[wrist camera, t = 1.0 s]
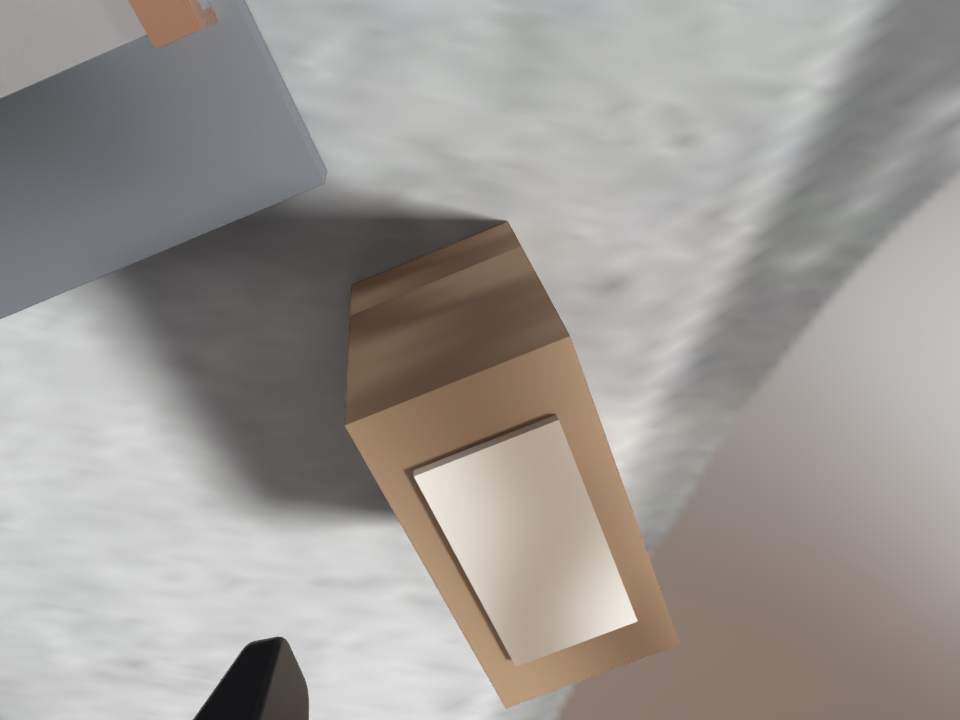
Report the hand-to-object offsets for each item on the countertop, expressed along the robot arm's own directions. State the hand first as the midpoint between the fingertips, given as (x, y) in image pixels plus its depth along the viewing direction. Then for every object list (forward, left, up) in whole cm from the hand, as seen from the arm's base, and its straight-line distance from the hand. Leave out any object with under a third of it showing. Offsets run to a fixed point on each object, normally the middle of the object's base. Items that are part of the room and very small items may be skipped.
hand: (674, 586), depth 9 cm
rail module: (-2, -4, -13) cm, 14 cm away
